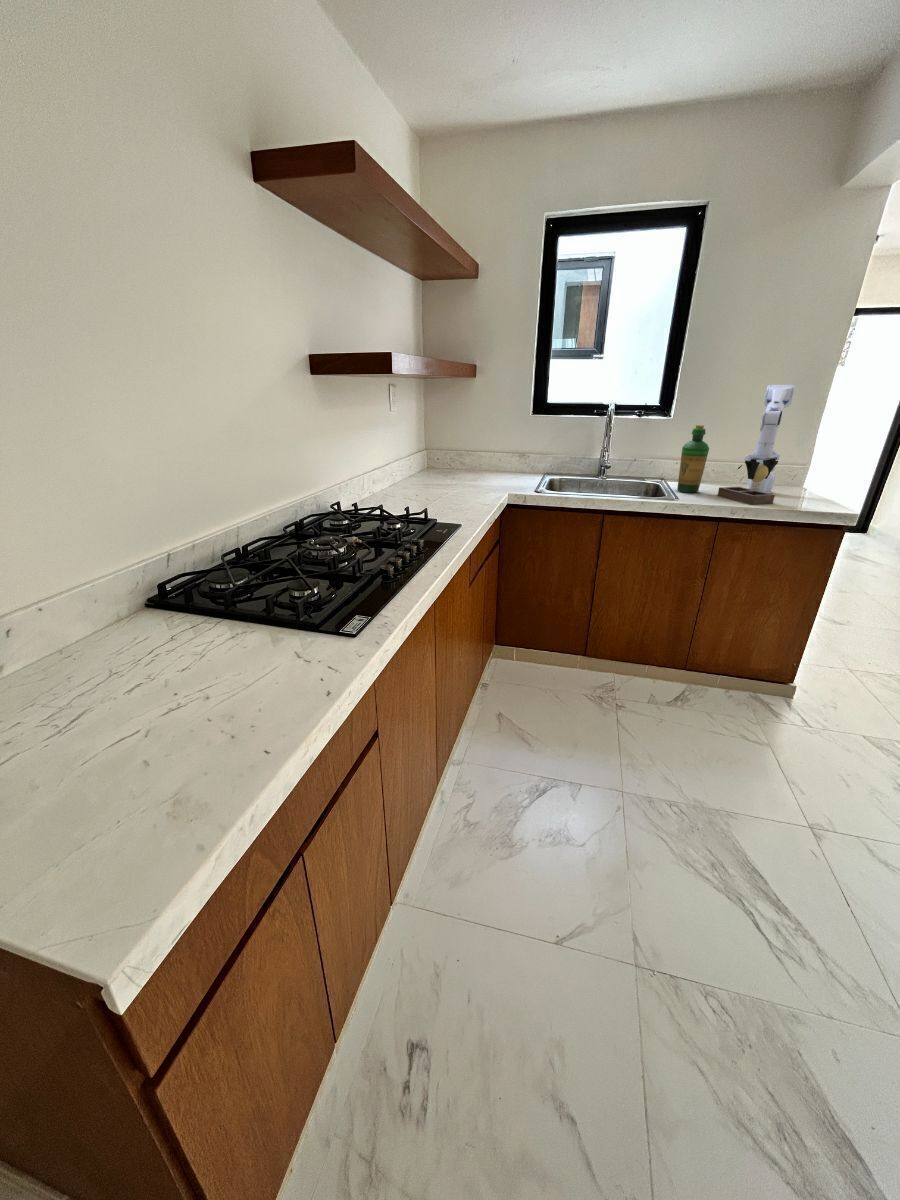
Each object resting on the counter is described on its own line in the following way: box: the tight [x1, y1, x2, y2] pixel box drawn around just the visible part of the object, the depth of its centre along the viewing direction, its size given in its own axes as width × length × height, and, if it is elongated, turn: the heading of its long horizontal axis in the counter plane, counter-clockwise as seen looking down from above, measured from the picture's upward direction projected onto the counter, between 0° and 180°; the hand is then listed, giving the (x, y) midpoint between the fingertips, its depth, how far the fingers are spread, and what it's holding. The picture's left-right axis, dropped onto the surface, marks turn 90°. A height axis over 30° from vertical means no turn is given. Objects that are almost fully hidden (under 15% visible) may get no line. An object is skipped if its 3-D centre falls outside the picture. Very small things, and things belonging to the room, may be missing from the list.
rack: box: [717, 486, 776, 506], centre depth 207 cm, size 10×19×4 cm, turn 14°
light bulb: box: [750, 464, 768, 490], centre depth 200 cm, size 6×6×10 cm
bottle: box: [676, 424, 710, 494], centre depth 217 cm, size 11×11×28 cm
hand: (757, 478), depth 200 cm, fingers closed on light bulb, 6 cm apart
